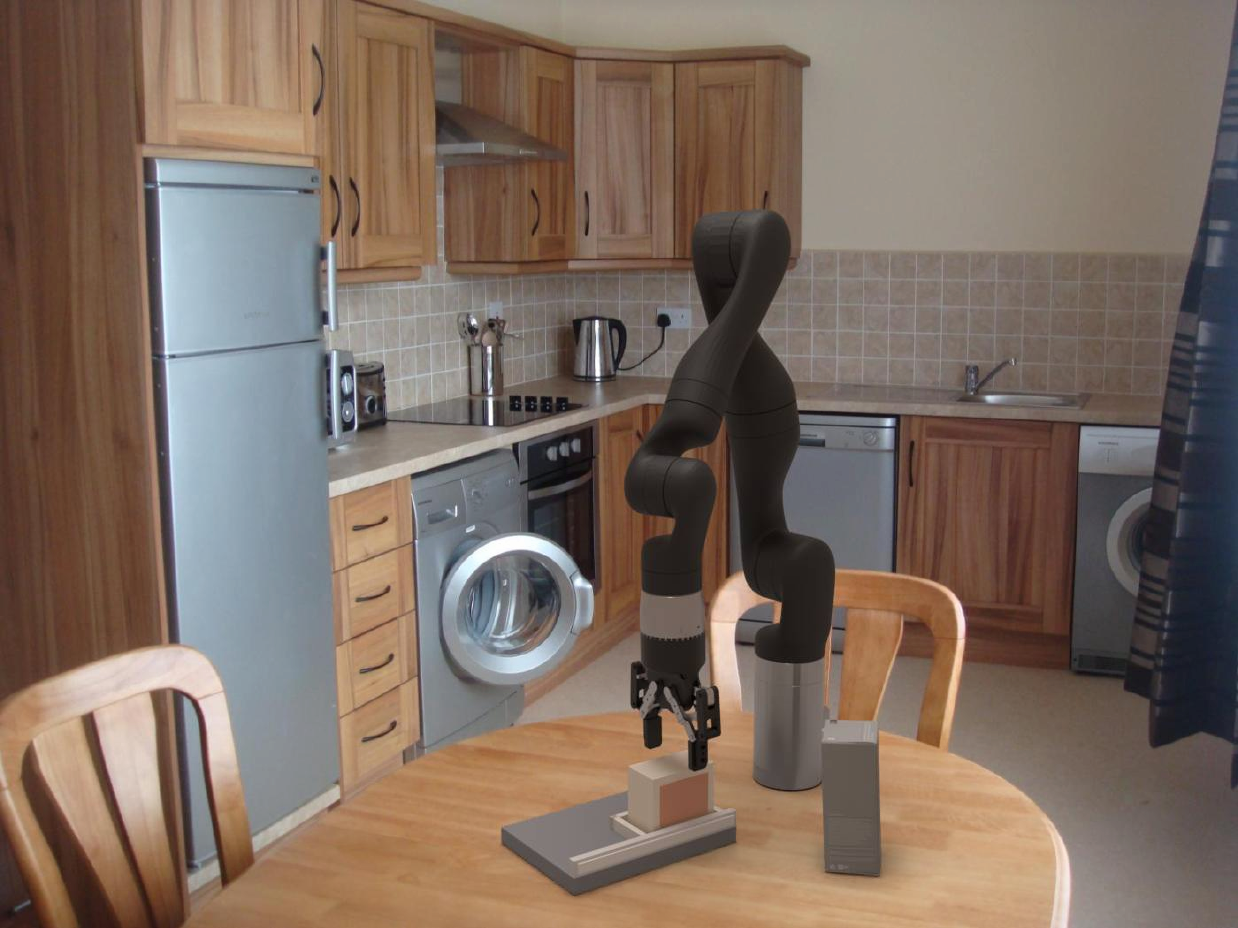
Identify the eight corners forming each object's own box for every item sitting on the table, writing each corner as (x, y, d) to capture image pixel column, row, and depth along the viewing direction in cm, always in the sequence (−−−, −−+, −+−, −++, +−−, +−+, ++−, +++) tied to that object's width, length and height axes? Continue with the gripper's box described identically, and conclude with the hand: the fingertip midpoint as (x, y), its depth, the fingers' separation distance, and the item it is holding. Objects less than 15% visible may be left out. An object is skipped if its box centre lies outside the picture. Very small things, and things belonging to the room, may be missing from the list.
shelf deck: (656, 796, 175) (656, 767, 175) (737, 842, 162) (737, 810, 162) (501, 842, 162) (500, 811, 162) (575, 896, 149) (574, 862, 149)
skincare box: (880, 878, 153) (884, 744, 151) (816, 872, 155) (819, 740, 152) (881, 845, 161) (885, 718, 159) (820, 840, 163) (823, 714, 160)
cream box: (688, 811, 166) (688, 749, 165) (714, 825, 162) (714, 762, 161) (627, 829, 161) (627, 765, 160) (653, 845, 157) (653, 780, 156)
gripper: (737, 634, 154) (738, 768, 157) (661, 606, 165) (663, 732, 168) (685, 647, 150) (687, 785, 153) (610, 618, 161) (614, 747, 164)
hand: (674, 757), depth 160 cm, fingers open, 8 cm apart
